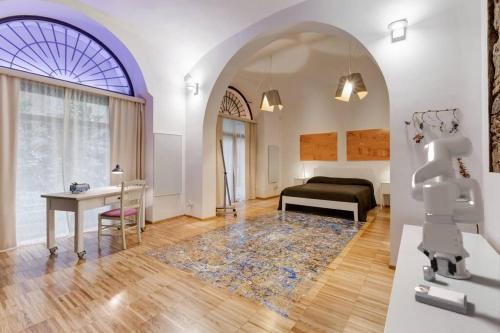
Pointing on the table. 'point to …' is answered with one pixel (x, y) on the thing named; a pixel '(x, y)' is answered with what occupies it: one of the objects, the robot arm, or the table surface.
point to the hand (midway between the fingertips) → (443, 272)
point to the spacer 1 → (429, 274)
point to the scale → (442, 298)
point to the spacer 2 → (443, 265)
